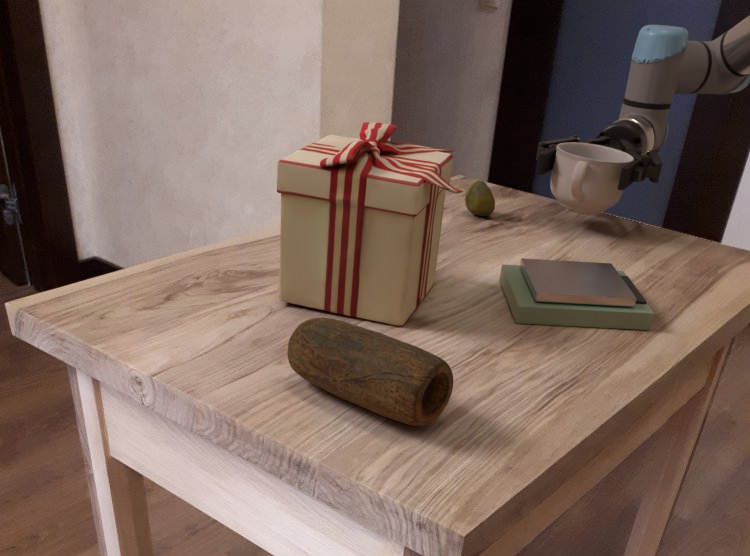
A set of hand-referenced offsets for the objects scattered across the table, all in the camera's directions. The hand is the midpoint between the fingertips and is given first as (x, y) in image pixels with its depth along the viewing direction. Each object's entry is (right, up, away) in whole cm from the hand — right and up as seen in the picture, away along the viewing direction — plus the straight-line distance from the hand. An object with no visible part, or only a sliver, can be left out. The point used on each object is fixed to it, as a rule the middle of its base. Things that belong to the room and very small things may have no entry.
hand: (580, 171), depth 108 cm
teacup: (+1, -3, +7) cm, 7 cm away
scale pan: (-5, -20, -17) cm, 27 cm away
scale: (-5, -22, -16) cm, 27 cm away
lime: (-13, -2, +11) cm, 17 cm away
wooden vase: (-29, -36, -37) cm, 59 cm away
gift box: (-28, -21, -16) cm, 39 cm away
